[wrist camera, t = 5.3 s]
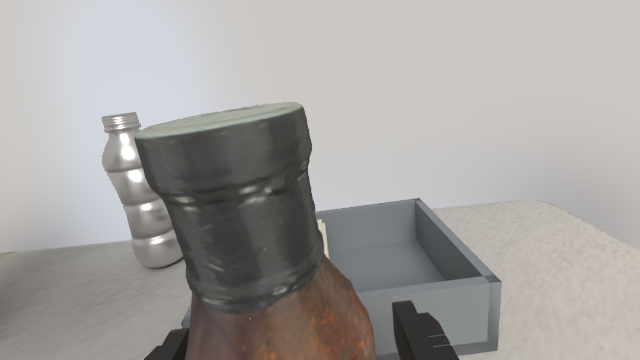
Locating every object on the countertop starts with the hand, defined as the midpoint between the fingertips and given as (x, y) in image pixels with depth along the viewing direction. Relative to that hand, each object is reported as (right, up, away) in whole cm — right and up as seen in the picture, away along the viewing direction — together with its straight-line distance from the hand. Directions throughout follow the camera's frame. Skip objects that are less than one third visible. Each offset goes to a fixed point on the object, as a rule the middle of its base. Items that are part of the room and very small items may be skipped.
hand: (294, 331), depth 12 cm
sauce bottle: (+2, -11, +2) cm, 11 cm away
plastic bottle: (-20, -5, +30) cm, 36 cm away
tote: (+3, -6, +18) cm, 19 cm away
